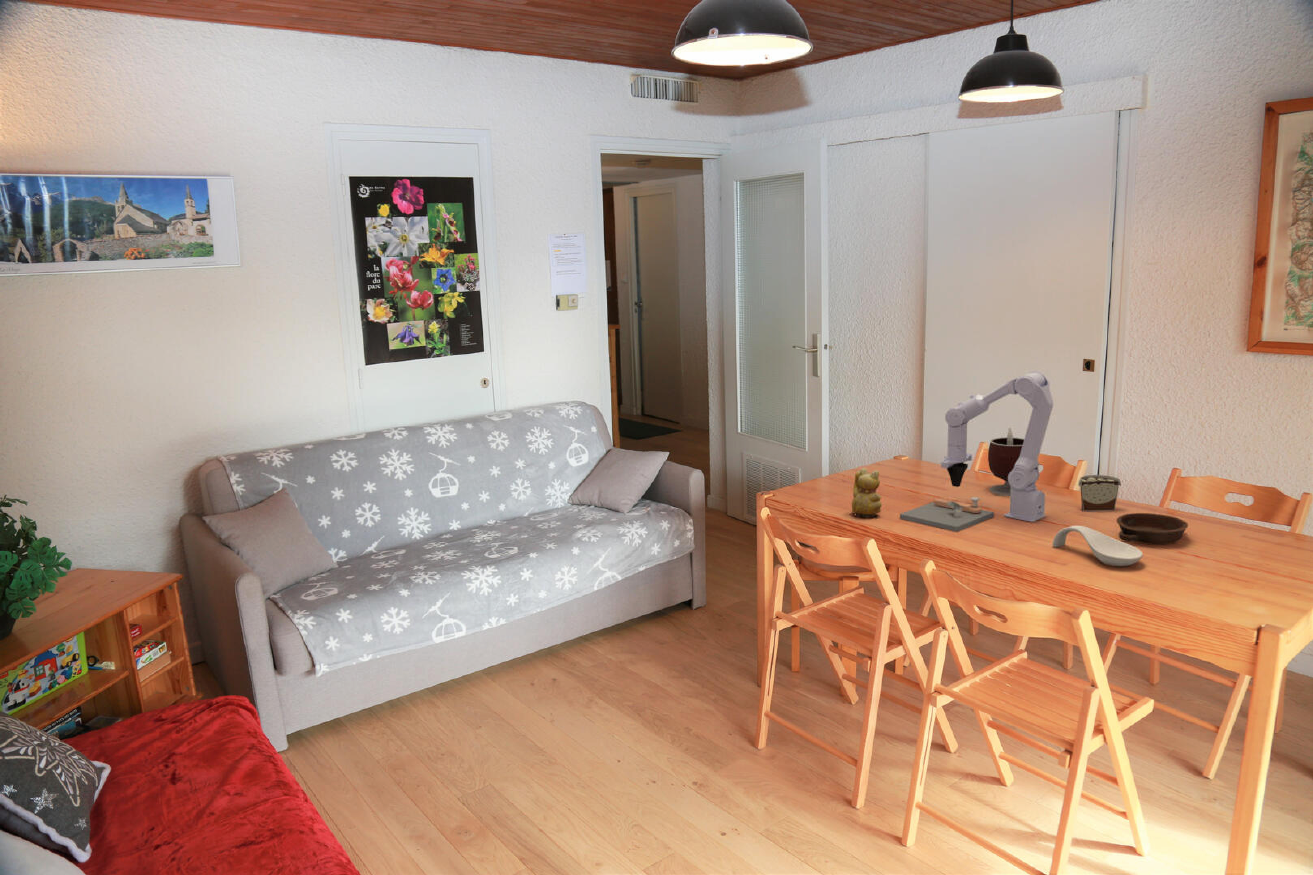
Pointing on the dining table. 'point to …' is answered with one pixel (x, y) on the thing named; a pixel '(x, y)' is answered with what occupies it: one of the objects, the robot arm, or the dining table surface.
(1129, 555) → the spoon rest
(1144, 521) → the dish
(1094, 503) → the food container
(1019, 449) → the mate gourd
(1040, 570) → the dining table surface
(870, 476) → the decorative figurine
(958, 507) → the keeper
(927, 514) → the board
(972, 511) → the link
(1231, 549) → the dining table surface
